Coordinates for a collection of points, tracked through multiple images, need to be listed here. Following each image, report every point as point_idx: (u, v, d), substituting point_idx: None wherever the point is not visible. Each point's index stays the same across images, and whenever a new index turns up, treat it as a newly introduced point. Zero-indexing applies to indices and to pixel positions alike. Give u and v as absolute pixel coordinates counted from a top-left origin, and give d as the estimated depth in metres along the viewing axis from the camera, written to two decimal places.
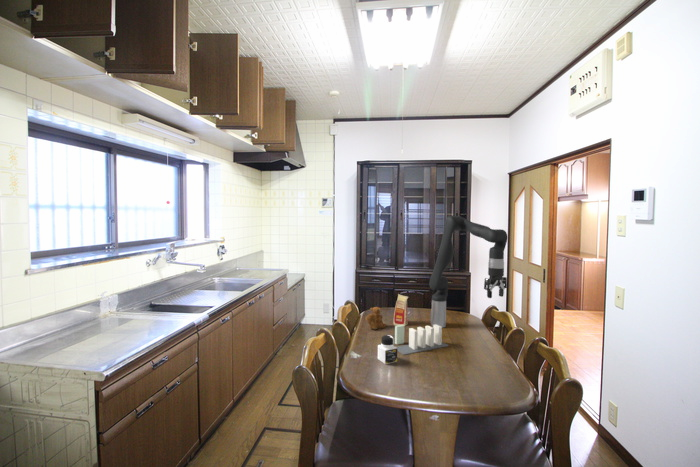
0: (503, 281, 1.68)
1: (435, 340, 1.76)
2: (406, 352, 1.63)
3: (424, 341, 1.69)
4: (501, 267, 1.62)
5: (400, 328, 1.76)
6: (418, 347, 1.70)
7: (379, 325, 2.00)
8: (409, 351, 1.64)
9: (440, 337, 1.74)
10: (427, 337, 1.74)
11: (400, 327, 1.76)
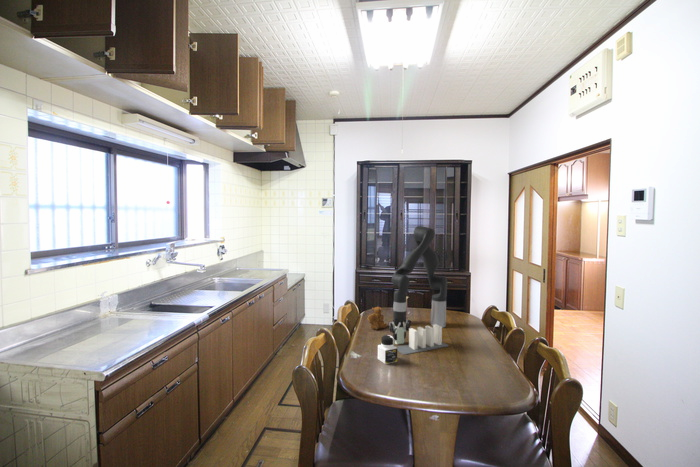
0: (407, 323, 1.79)
1: (435, 340, 1.76)
2: (406, 352, 1.63)
3: (424, 341, 1.69)
4: (402, 310, 1.73)
5: (400, 328, 1.76)
6: (418, 347, 1.70)
7: (381, 325, 2.00)
8: (409, 351, 1.64)
9: (440, 337, 1.74)
10: (427, 337, 1.74)
11: (400, 327, 1.76)
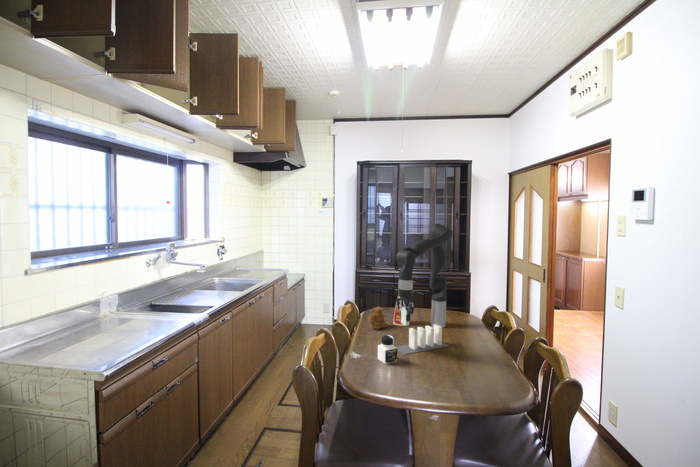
0: None
1: (435, 340, 1.76)
2: (406, 352, 1.63)
3: (424, 341, 1.69)
4: (399, 287, 1.65)
5: (403, 308, 1.66)
6: (418, 347, 1.70)
7: (382, 325, 2.00)
8: (409, 351, 1.64)
9: (440, 337, 1.74)
10: (427, 337, 1.74)
11: None
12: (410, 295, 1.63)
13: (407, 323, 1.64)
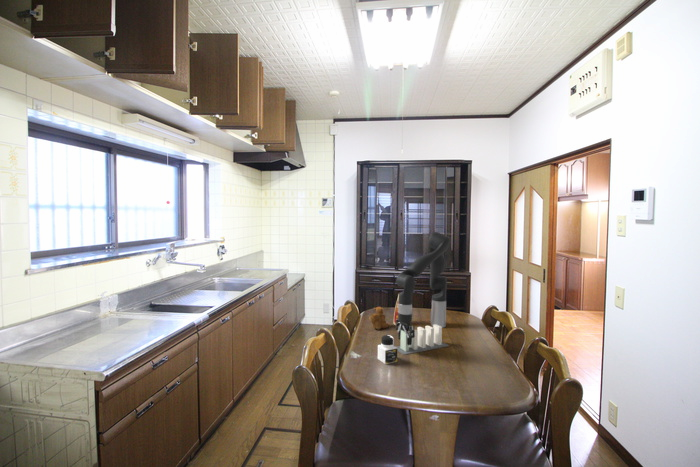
0: None
1: (435, 340, 1.76)
2: (406, 352, 1.63)
3: (424, 341, 1.69)
4: (398, 312, 1.65)
5: (403, 333, 1.66)
6: (418, 347, 1.70)
7: (383, 325, 2.00)
8: (409, 351, 1.64)
9: (440, 337, 1.74)
10: (427, 337, 1.74)
11: (403, 332, 1.66)
12: (410, 319, 1.63)
13: (407, 349, 1.65)
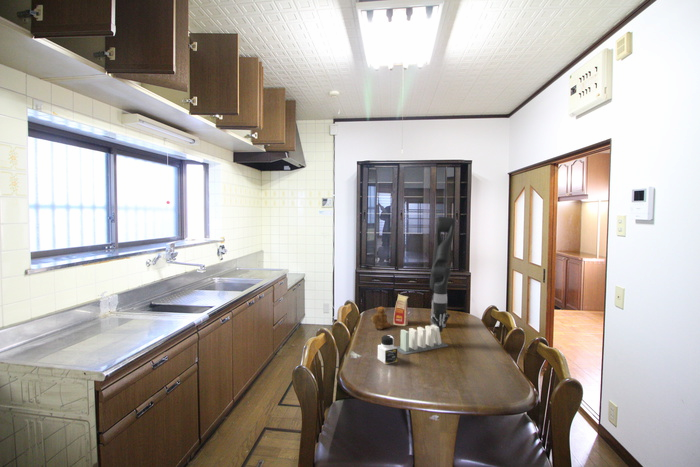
0: (445, 317, 1.78)
1: (434, 340, 1.76)
2: (406, 352, 1.63)
3: (424, 341, 1.69)
4: (444, 302, 1.72)
5: (403, 333, 1.66)
6: (418, 347, 1.70)
7: (384, 325, 2.01)
8: (409, 351, 1.64)
9: (439, 337, 1.73)
10: (427, 337, 1.74)
11: (403, 332, 1.66)
12: None
13: (407, 349, 1.65)
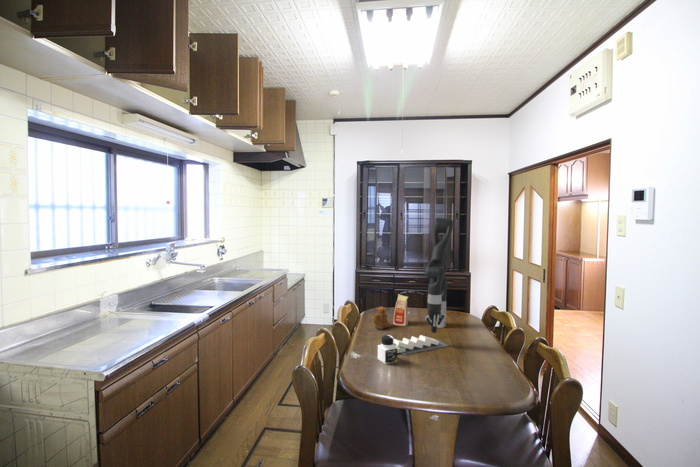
0: (439, 318, 1.76)
1: None
2: (406, 352, 1.63)
3: (417, 345, 1.67)
4: (438, 303, 1.71)
5: None
6: (418, 347, 1.70)
7: (385, 325, 2.01)
8: (409, 351, 1.64)
9: (433, 341, 1.72)
10: None
11: None
12: None
13: (403, 350, 1.64)
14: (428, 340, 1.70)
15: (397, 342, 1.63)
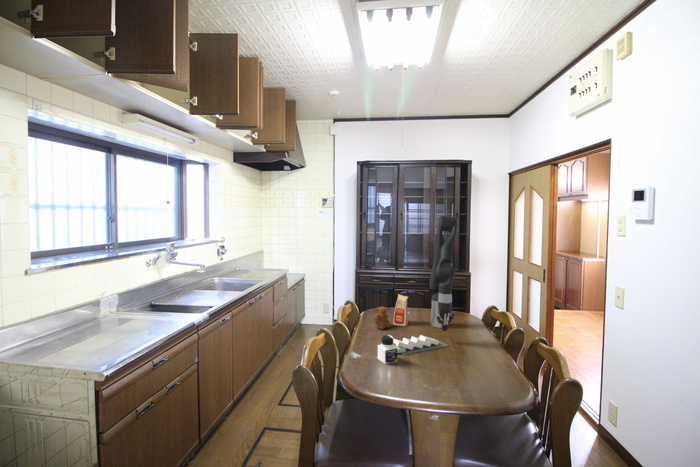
0: (450, 316, 1.80)
1: None
2: (406, 352, 1.63)
3: (417, 345, 1.67)
4: (448, 302, 1.74)
5: None
6: (418, 347, 1.70)
7: (386, 325, 2.01)
8: (409, 351, 1.64)
9: (433, 341, 1.72)
10: None
11: None
12: None
13: (403, 350, 1.64)
14: (428, 340, 1.70)
15: (397, 342, 1.63)
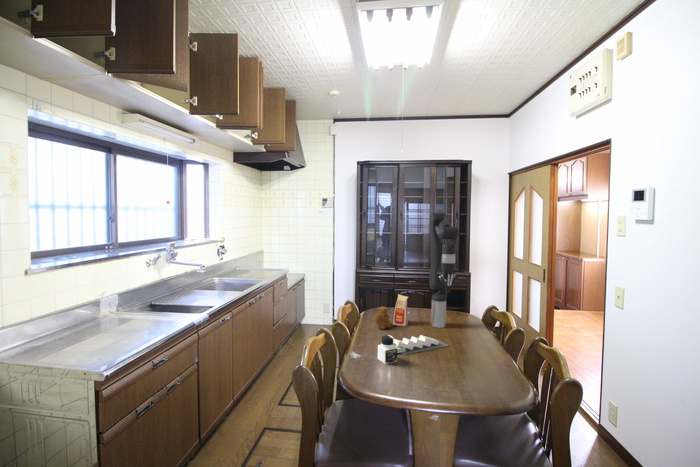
0: (453, 278, 1.79)
1: None
2: (406, 352, 1.63)
3: (417, 345, 1.67)
4: (452, 262, 1.74)
5: None
6: (418, 347, 1.70)
7: (387, 324, 2.01)
8: (409, 351, 1.64)
9: (433, 341, 1.72)
10: None
11: None
12: None
13: (403, 350, 1.64)
14: (428, 340, 1.70)
15: (397, 342, 1.63)
